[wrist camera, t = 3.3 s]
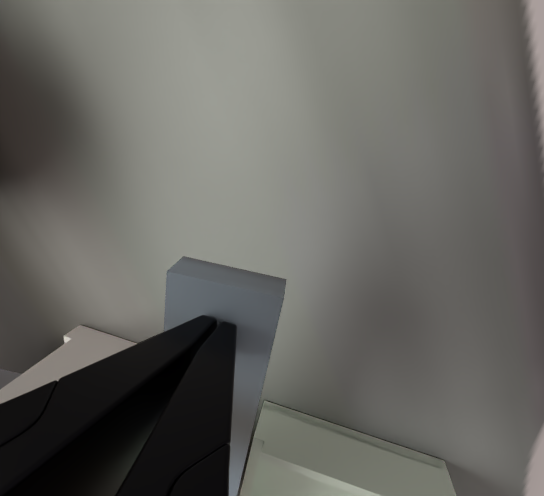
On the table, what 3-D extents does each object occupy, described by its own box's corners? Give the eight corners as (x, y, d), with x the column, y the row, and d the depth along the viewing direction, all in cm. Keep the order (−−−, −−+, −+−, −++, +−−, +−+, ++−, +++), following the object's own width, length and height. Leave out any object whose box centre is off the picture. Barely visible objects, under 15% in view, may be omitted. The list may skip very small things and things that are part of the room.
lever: (231, 507, 17) (202, 645, 12) (1, 447, 17) (-110, 557, 13) (291, 244, 10) (280, 325, 6) (-75, 164, 11) (-355, 178, 6)
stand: (141, 479, 19) (53, 628, 13) (91, 459, 20) (-15, 594, 14) (143, 345, 15) (14, 477, 9) (80, 324, 15) (-83, 435, 9)
